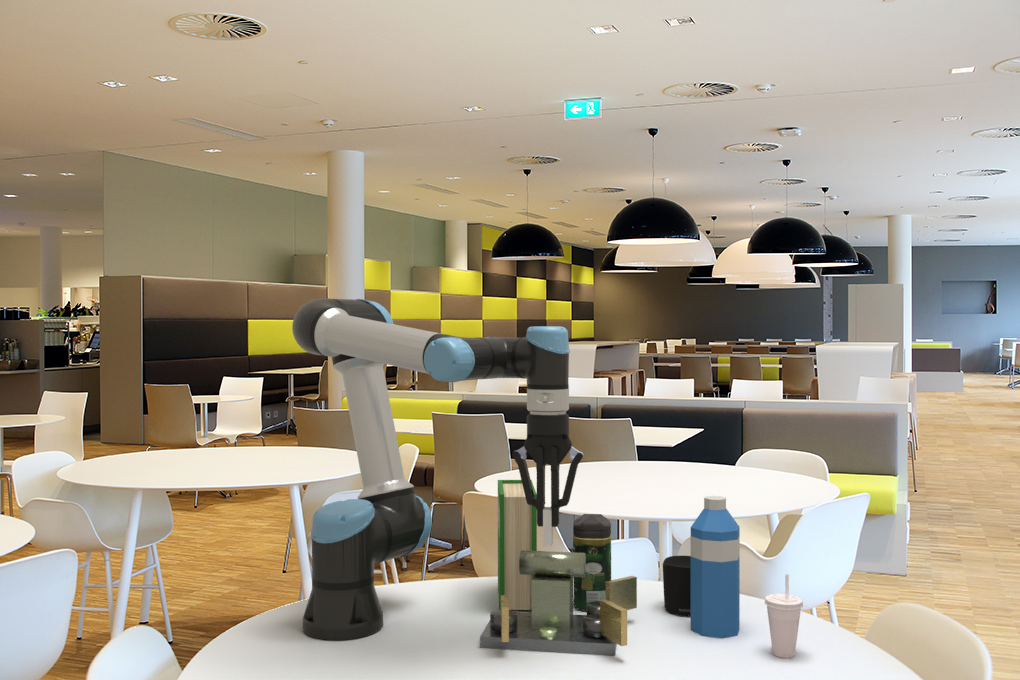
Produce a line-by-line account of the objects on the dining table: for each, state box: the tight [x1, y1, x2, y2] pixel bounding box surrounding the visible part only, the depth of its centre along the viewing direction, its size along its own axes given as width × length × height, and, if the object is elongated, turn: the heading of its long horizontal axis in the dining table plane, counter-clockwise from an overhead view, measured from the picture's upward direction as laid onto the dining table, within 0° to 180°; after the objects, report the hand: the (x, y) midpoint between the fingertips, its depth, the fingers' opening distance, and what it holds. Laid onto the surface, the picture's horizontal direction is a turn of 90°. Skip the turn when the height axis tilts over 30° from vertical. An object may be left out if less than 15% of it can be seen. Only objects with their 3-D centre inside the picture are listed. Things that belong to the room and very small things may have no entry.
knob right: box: [583, 599, 628, 647], centre depth 154 cm, size 12×5×6 cm, turn 25°
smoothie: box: [764, 573, 804, 659], centre depth 153 cm, size 6×6×14 cm
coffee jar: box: [572, 513, 612, 611], centre depth 180 cm, size 10×8×19 cm
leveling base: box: [479, 550, 618, 656], centre depth 162 cm, size 24×15×15 cm, turn 80°
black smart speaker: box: [662, 555, 691, 618], centre depth 177 cm, size 9×9×10 cm
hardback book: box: [497, 479, 538, 611], centre depth 184 cm, size 18×7×24 cm, turn 2°
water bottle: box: [690, 495, 741, 639], centre depth 166 cm, size 9×9×25 cm
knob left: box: [489, 595, 518, 642], centre depth 157 cm, size 12×5×6 cm, turn 2°
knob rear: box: [585, 575, 638, 616], centre depth 167 cm, size 12×5×6 cm, turn 126°
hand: (548, 544), depth 156 cm, fingers closed
